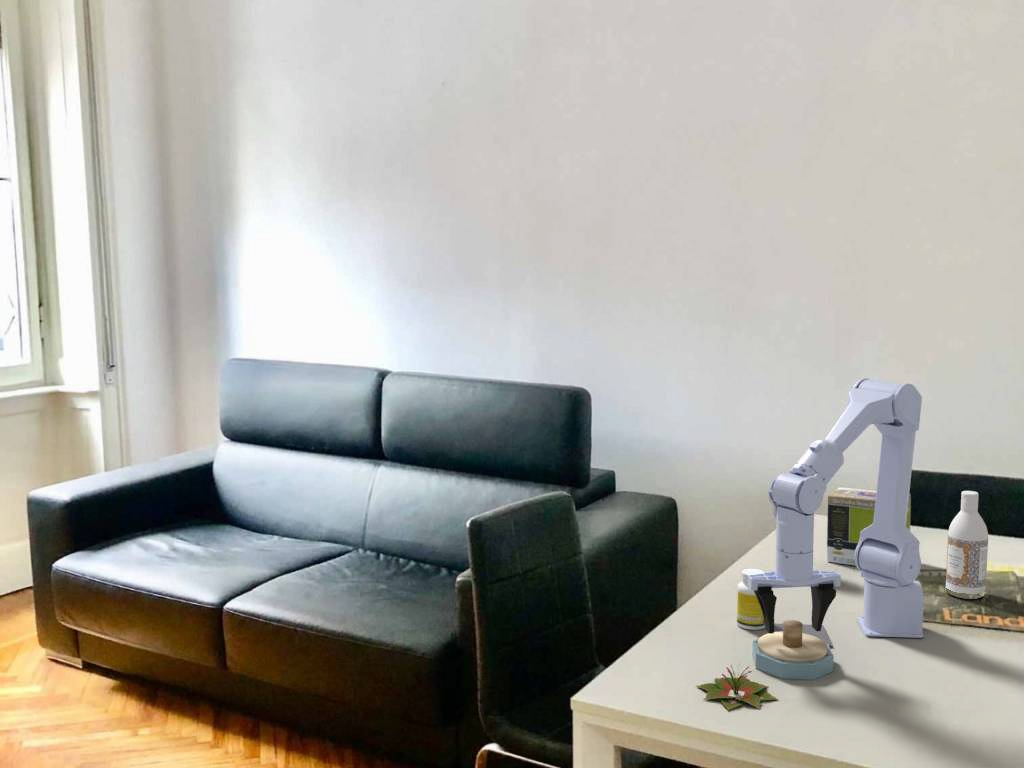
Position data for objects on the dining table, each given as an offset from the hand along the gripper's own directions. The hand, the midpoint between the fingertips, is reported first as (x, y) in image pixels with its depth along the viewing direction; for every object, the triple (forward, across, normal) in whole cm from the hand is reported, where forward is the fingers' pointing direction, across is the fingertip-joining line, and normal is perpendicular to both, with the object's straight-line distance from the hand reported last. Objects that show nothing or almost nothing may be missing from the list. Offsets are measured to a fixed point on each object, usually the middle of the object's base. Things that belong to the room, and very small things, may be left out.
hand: (793, 630), depth 162 cm
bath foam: (+6, -43, -27) cm, 51 cm away
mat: (+6, -5, -11) cm, 13 cm away
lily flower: (+6, +12, +10) cm, 17 cm away
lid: (+3, 0, 0) cm, 3 cm away
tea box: (+6, -33, -48) cm, 59 cm away
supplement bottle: (+6, +2, -17) cm, 18 cm away
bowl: (+6, 0, 0) cm, 6 cm away
